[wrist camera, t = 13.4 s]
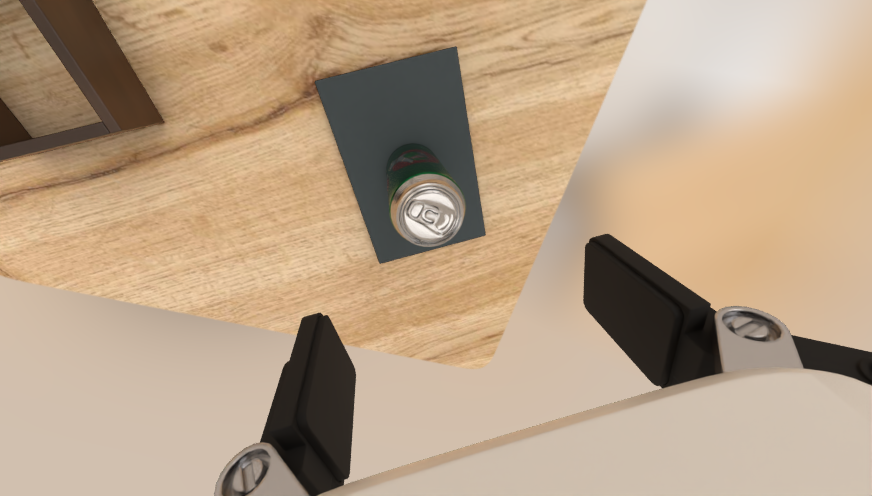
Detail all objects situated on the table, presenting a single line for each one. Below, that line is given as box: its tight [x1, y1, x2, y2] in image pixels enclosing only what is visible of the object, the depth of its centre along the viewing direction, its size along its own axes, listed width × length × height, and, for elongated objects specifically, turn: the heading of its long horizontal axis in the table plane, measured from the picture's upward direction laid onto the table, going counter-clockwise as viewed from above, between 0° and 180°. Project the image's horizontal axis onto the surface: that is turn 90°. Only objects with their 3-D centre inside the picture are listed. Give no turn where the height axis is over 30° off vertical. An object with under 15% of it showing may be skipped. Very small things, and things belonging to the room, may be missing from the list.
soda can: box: [386, 143, 466, 247], centre depth 25 cm, size 5×5×12 cm
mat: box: [315, 47, 486, 264], centre depth 31 cm, size 18×12×1 cm, turn 12°
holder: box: [0, 0, 164, 162], centre depth 21 cm, size 11×11×5 cm
